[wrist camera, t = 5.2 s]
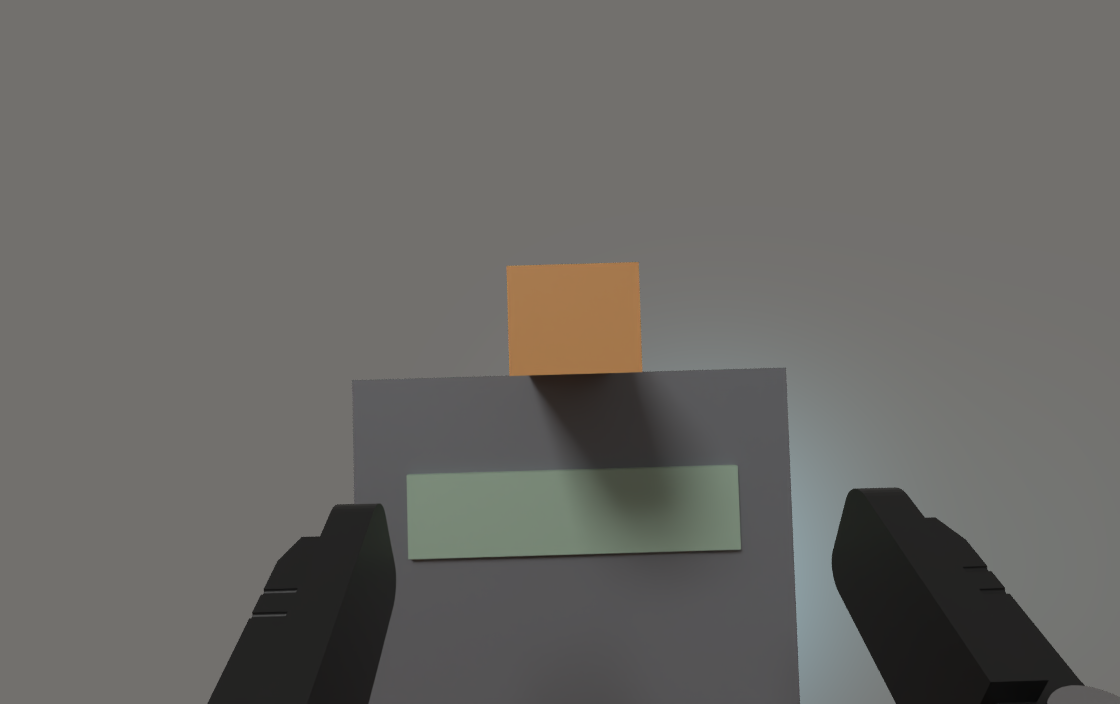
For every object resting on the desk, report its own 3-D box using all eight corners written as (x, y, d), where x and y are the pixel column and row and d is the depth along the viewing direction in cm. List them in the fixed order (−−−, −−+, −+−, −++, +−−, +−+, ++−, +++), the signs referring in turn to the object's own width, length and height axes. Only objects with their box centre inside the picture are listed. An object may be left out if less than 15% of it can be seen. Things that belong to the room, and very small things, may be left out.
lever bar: (664, 371, 14) (659, 217, 14) (487, 376, 14) (483, 222, 14) (593, 373, 43) (592, 322, 43) (535, 375, 43) (534, 324, 43)
